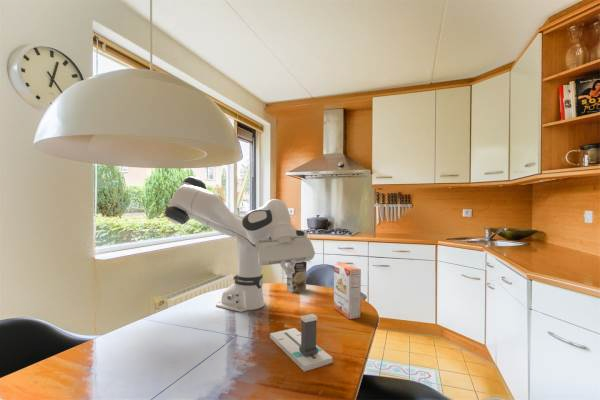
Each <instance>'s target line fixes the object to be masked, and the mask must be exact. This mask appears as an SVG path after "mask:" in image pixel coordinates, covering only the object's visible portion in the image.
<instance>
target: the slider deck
mask: <svg viewBox="0 0 600 400" xmlns="http://www.w3.org/2000/svg"><path fill="white" fill-rule="evenodd" d="M269 339H271V341H272V342H274V344H276V345H277V347H279V348H280V349H281V350H282V351H283V352H284V353H285V355H286V356H287V357H289V358H290V359H291V361H293V362H294V364H296V365H297V366H298V367H299V368H300V369H301V370H302V371H303V372H307V371H311V370H314V369H318V368H320V367H323V366H326V365H330V364H333V362H334V361H333V359H334V357H333V356H331V355H330V354H329V353H327V352H326V351H325V350H323V348H321V347H319V345H317V344H316V348H317V349H318V353H317V354H314V355H310V356H307V357H305V356H304V355H303V354H302V353H301V352H300V351H299V347H301V332H300V331H299V330H298V329H297V328H296V327H293V328H292V327H291V328H288V329H284V330H278V331H275V332H271V333H269Z"/></svg>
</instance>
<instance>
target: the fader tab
mask: <svg viewBox="0 0 600 400" xmlns="http://www.w3.org/2000/svg"><path fill="white" fill-rule="evenodd" d="M300 321H301V327H300V330H301V332H300V333H301V347H299V351H300V352H301V353H302V354H303V355H304V356H305V357H307V356H310V355H314V354H317V353H318V349H317V348H316V345H317V321H318V316H317V315H315V314H314V313H309V314H304V315H300Z"/></svg>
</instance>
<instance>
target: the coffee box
mask: <svg viewBox="0 0 600 400" xmlns="http://www.w3.org/2000/svg"><path fill="white" fill-rule="evenodd" d="M286 264H287V265H286V266H287V268H290V267H292V265H293V264H292V265H291V262H288V263H286ZM294 270H295V273H294V274H287V275H286V291H288V292H290V293H299V292H305V291H306V290H307V261H306V260H305V261H297V262H296V263H295V266H294Z"/></svg>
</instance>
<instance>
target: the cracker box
mask: <svg viewBox="0 0 600 400" xmlns="http://www.w3.org/2000/svg"><path fill="white" fill-rule="evenodd" d="M361 271H362V270H361V269H360V268H359V267H356V266H353V265H351V264H348V263H345V262H339V263H337V262H336V263H334V264H333V309H335V310H336V311H337V312H338V313H340V315H341V314H342V315H343V316H344V317H345V318H346V319H348V320H355V319H360V318H361V311H362V310H361V306H362V305H361V302H362V299H361V296H362V295H361V294H362V293H361V291H362V289H361V285H362V283H361V281H362V278H361V277H362V272H361Z"/></svg>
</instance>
